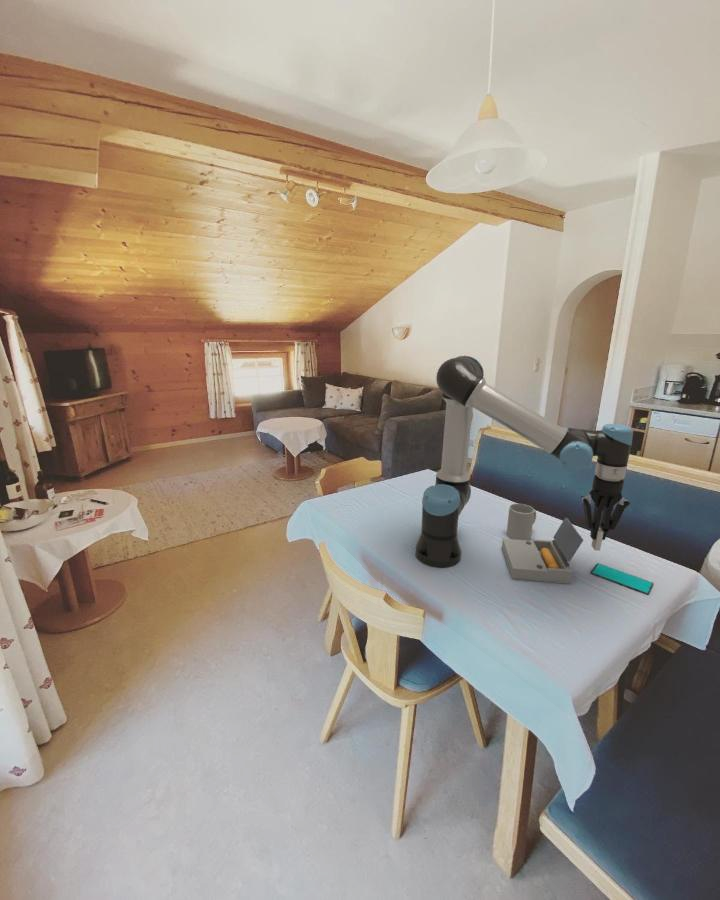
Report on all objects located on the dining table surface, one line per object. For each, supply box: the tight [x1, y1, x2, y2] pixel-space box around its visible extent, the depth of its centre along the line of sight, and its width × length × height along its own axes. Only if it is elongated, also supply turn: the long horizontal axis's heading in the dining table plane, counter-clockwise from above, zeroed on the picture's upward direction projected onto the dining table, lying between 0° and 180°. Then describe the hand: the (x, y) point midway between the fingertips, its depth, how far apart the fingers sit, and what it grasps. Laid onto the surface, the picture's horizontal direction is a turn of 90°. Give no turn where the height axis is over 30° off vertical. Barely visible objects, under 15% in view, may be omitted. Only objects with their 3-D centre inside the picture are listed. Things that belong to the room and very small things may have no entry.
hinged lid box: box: [501, 538, 573, 585], centre depth 126 cm, size 17×18×4 cm
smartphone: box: [590, 563, 654, 596], centre depth 119 cm, size 7×1×15 cm
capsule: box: [540, 548, 559, 569], centre depth 125 cm, size 3×12×3 cm, turn 169°
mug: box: [506, 503, 537, 541], centre depth 144 cm, size 12×8×11 cm
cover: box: [551, 517, 584, 567], centre depth 122 cm, size 10×14×1 cm
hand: (595, 548), depth 121 cm, fingers closed
